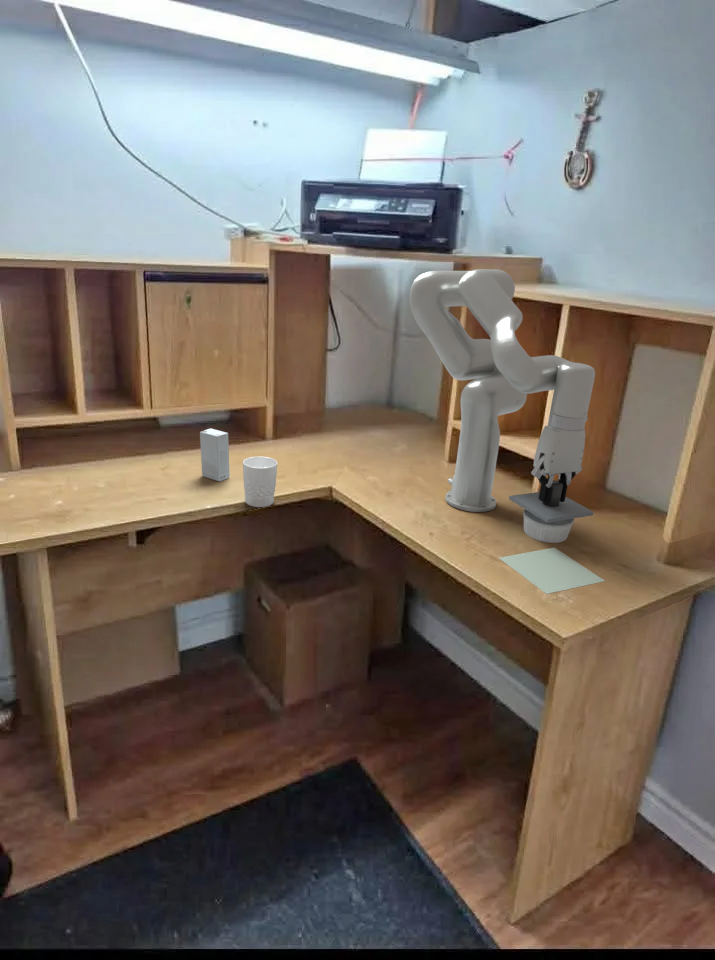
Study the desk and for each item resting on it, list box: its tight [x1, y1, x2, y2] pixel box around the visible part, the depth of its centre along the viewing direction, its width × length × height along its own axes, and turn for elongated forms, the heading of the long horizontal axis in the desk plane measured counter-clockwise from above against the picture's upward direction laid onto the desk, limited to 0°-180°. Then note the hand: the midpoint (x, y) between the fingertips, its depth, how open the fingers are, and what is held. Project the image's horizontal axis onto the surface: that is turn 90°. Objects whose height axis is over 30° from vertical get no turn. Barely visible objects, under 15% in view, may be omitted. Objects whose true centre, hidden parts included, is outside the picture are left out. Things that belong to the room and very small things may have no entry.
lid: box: [508, 479, 594, 523], centre depth 148 cm, size 13×13×6 cm
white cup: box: [242, 456, 278, 508], centre depth 156 cm, size 8×8×10 cm
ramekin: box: [522, 508, 575, 544], centre depth 151 cm, size 11×11×5 cm
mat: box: [498, 547, 606, 595], centre depth 135 cm, size 15×15×1 cm
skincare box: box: [199, 428, 231, 482], centre depth 168 cm, size 6×4×12 cm
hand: (551, 499), depth 148 cm, fingers closed on lid, 3 cm apart
